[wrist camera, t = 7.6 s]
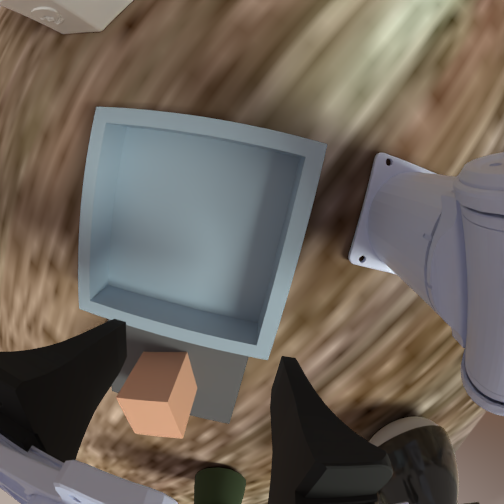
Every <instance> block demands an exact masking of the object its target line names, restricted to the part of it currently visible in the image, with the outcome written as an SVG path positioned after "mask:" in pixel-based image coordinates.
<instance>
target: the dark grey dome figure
mask: <svg viewBox="0 0 504 504" xmlns="http://www.w3.org/2000/svg"><path fill="white" fill-rule="evenodd" d="M369 442H370V443H371V444H373V445H375V446H377V447H379V448H381V449H382V450H384V451H386V452H387V454H388V457H389V459H390V462H391V466H392V469H393V475H392V477H391V479H390V480H389V481H388V482H387V483H386V484H385V485H384V486H383V487H382V488H381V489H380V490H379V491H378V492H377V497H378V501H377V502H376V503H375V504H397V503H403V502H408V503H409V504H457V502H458V493H459V478H458V468H457V462H456V457H455V454H454V450H453V447H452V444H451V441H450V439H449V436H448V434H447V432H446V431H445V429H444V428H442V427H440V426H438V425H437V424H436V423H434V422H433V421H431V420H429V419H427V418H423V417H406V418H402V419H399V420H396V421H394V422H392V423H390V424H388V425H386V426H385V427H383V428H382V429H380V430H379V431H378V432H377V433H376V434H375V435H374V436H373V437H372V438H371V439H370V441H369ZM465 504H479V502H474V503H465Z"/></svg>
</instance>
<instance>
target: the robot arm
mask: <svg viewBox="0 0 504 504" xmlns="http://www.w3.org/2000/svg"><path fill="white" fill-rule="evenodd" d="M387 159H389V160H390V165H389V166H388V165H387V164H386V160H387ZM361 256H364V259H363V260H362V261H359V258H360V257H361ZM348 259H349V261H350V262H351V263H352V264H355V265H359V266H364V267H368V268H372V269H376V270H380V271H384V272H389V273H393V274H397V275H398V276H399V277H400V278H401V279H402V280H403V281H404V282H405V283H406V284H407V285H408V286H410V287H411V288H412V289H413V290H414V291H415V292H416V293H417V294H418V295H419V296H420V297H421V298H422V299H423V300H424V301H425V302H426V303H427V304H428V305H429V306H430V307H431V308H432V309H433V310H434V311H435V312H436V313H437V314H438V315H439V316H440V317H441V318H442V319H443V320H444V321H445V322H446V323H447V324H448V325H449V326H451V329H452V335H453V337H454V338H455V339H456V340H457V341H458V342H459V343H460V345H461V346H462V347H463V348H465V350H464V354H463V359H462V363H461V378H462V382H463V385H464V388H465V390H466V392H467V394H468V395H469V396H470V397H471V399H472V400H473V401H474V402H475V403H476V404H478V405H479V406H480V407H482V408H483V409H485V410H487V411H489V412H491V413H494V414H496V415H501V416H504V152H501V153H496V154H491V155H487V156H483V157H480V158H477V159H474V160H472V161H470V162H468V163H467V164H465V165H464V167H463V169H462V170H461V172H460V174H459V175H457V176H456V177H455V176H447V175H439V174H436V173H434V172H431V171H429V170H427V169H424V168H422V167H419V166H417V165H415V164H412V163H410V162H407V161H404V160H402V159H399V158H397V157H394V156H391V155H389V154H386V153H377V154H376V156H375V158H374V162H373V167H372V171H371V175H370V179H369V183H368V187H367V191H366V195H365V199H364V203H363V206H362V210H361V214H360V217H359V221H358V224H357V228H356V231H355V235H354V238H353V241H352V245H351V248H350V251H349V254H348ZM126 358H127V341H126V322H124V321H121V320H117V319H113V320H110V321H108V322H106V323H104V324H102V325H99V326H97V327H95V328H93V329H91V330H89V331H87V332H85V333H83V334H80V335H78V336H75V337H73V338H70V339H68V340H66V341H63V342H60V343H57V344H53V345H50V346H46V347H42V348H37V349H31V350H25V351H14V352H0V488H1V489H2V490H4V491H5V492H6V493H8V494H9V495H10V496H11V497H13V498H14V499H15V500H17V501H18V502H19V503H21V504H178V503H177V502H176V500H175V499H173V498H172V497H170V496H168V495H167V494H165V493H163V492H160V491H157V490H155V489H152V488H150V487H147V486H143V485H140V484H137V483H134V482H131V481H128V480H125V479H123V478H120V477H117V476H115V475H112V474H109V473H107V472H104V471H102V470H99V469H97V468H95V467H92V466H90V465H88V464H85V463H82V462H79V461H77V460H75V459H76V456H77V453H78V450H79V447H80V445H81V442H82V439H83V437H84V434H85V432H86V429H87V427H88V425H89V423H90V420H91V418H92V416H93V414H94V412H95V410H96V408H97V407H98V405H99V403H100V402H101V400H102V399H103V397H104V396H105V394H106V393H107V391H108V390H109V388H110V387H111V385H112V384H113V382H114V381H115V379H116V377H117V376H118V374H119V373H120V371H121V369H122V367H123V365H124V362H125V360H126ZM270 412H271V429H272V446H273V455H272V469H271V481H270V491H269V499H268V504H375V503H376V502H377V501H378V497H377V492H378V491H379V490H380V489H381V488H382V487H383V486H384V485H385V484H386V483H387V482H388V481H389V480H390V479H391V477H392V475H393V469H392V466H391V462H390V459H389V457H388V454H387V452H386V451H384V450H382V449H381V448H379V447H377V446H375V445H373V444H371V443H370V442H368V441H367V440H365V439H364V438H362V437H361V436H359V435H358V434H356V433H355V432H354V431H352V430H351V429H350V428H349V427H348V426H346V425H345V424H344V423H343V422H342V421H341V420H340V419H339V418H338V417H337V416H336V415H335V414H334V413H333V412H332V411H331V410H330V409H329V408H328V407H327V406H326V405H325V403H324V402H323V401H322V399H321V398H320V397H319V395H318V394H317V393H316V391H315V390H314V388H313V387H312V385H311V384H310V382H309V381H308V379H307V377H306V376H305V374H304V372H303V370H302V369H301V367H300V365H299V363H298V361H297V360H296V358H291V357H285V356H282V357H281V361H280V364H279V367H278V370H277V374H276V377H275V380H274V383H273V386H272V391H271V404H270ZM397 504H409V503H408V502H403V503H397Z"/></svg>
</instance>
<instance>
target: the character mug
mask: <svg viewBox="0 0 504 504" xmlns="http://www.w3.org/2000/svg"><path fill="white" fill-rule="evenodd" d="M245 486H246V479H245V478H244V477H243V476H242V475H241V474H239V473H237V472H235V471H233V470H231V469H225V468H220V467H217V468H206V469H204V470H201V471H199V472H198V473H197V474H196V475H195V485H194V504H241V503H242V499H243V496H244V491H245Z"/></svg>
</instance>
